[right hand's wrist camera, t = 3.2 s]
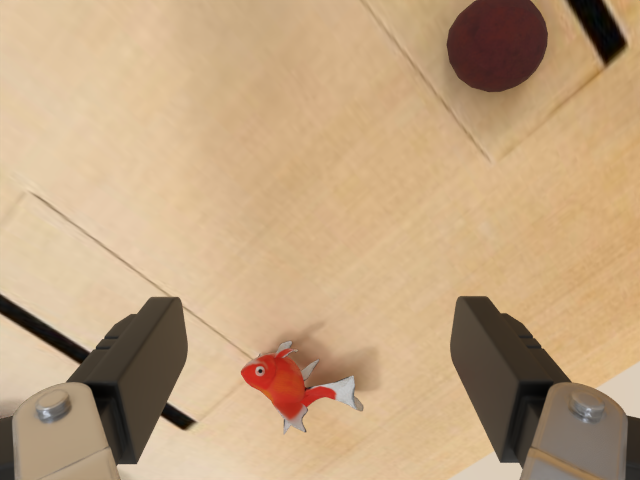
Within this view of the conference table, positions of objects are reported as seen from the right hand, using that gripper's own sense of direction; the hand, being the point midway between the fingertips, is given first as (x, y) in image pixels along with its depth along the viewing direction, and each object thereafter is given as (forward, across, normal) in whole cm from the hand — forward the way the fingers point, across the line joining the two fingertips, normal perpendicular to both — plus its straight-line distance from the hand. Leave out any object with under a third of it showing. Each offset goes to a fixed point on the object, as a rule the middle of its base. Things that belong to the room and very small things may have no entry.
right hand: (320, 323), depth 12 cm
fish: (+30, -1, -26) cm, 40 cm away
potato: (+30, +14, +10) cm, 35 cm away
